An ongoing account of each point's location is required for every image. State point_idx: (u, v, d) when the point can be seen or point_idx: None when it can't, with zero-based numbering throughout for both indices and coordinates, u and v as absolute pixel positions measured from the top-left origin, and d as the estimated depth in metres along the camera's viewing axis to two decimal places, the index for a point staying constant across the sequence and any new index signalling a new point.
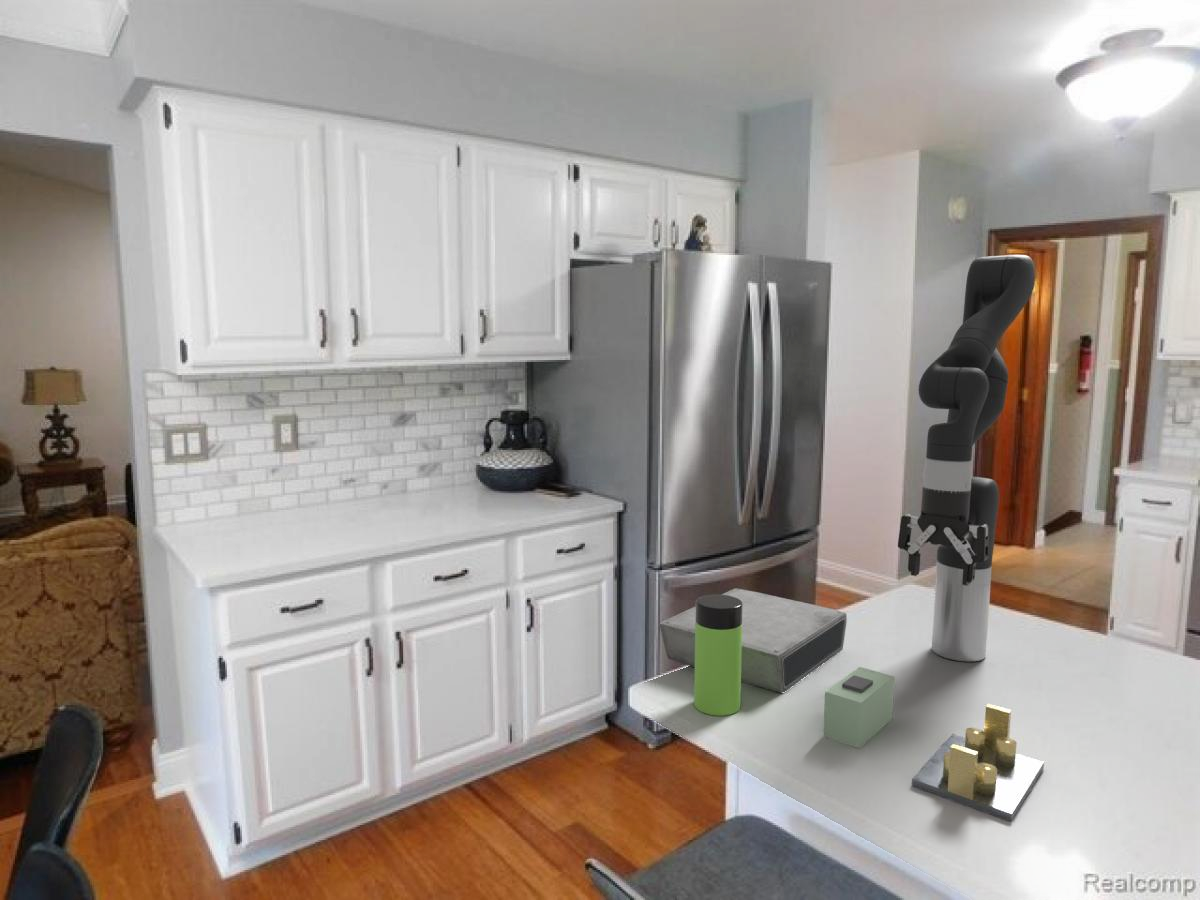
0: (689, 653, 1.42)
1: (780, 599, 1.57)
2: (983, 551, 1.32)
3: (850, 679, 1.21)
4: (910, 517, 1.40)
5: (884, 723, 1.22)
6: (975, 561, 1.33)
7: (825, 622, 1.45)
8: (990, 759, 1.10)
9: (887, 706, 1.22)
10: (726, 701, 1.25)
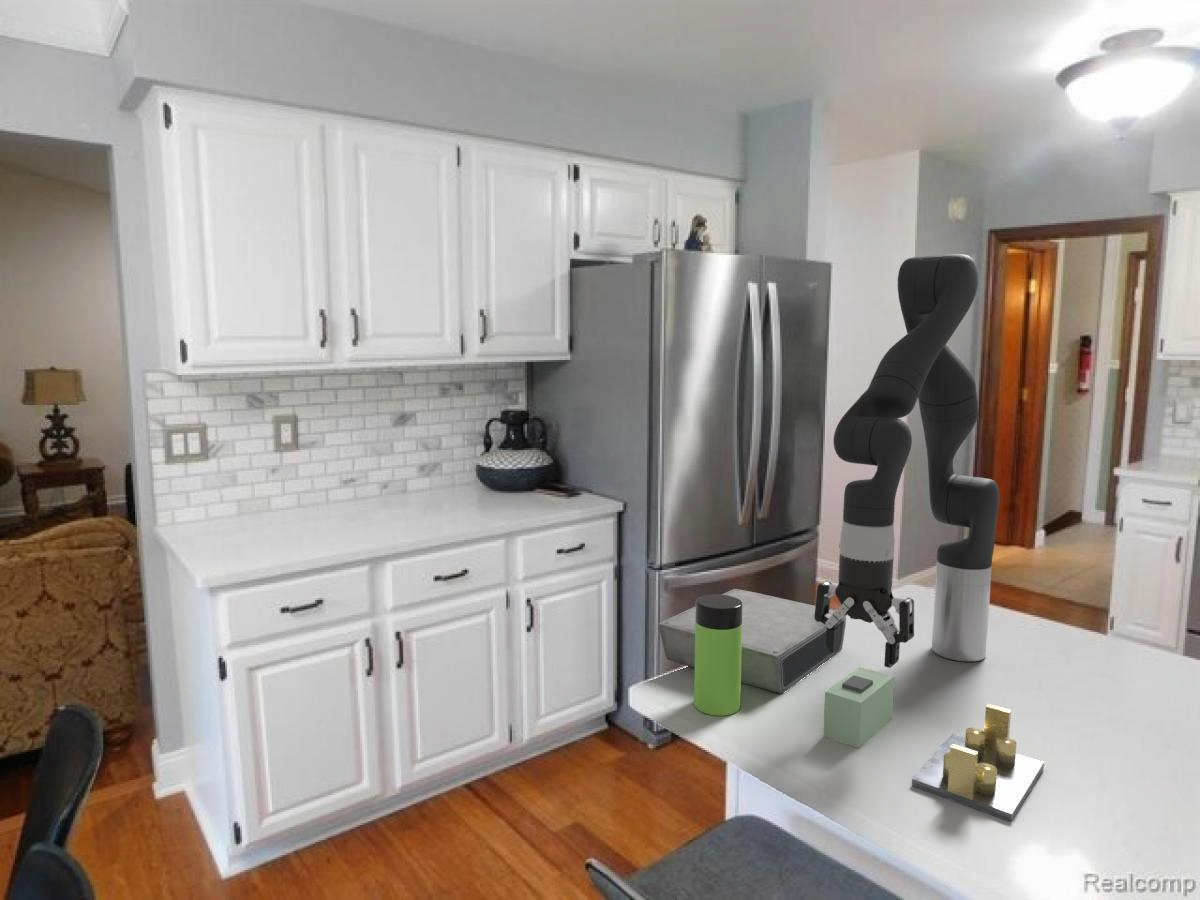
0: (688, 653, 1.42)
1: (779, 600, 1.57)
2: (906, 630, 1.14)
3: (850, 679, 1.21)
4: (828, 586, 1.22)
5: (884, 723, 1.22)
6: (898, 641, 1.15)
7: None
8: (990, 759, 1.10)
9: (887, 706, 1.22)
10: (726, 701, 1.25)
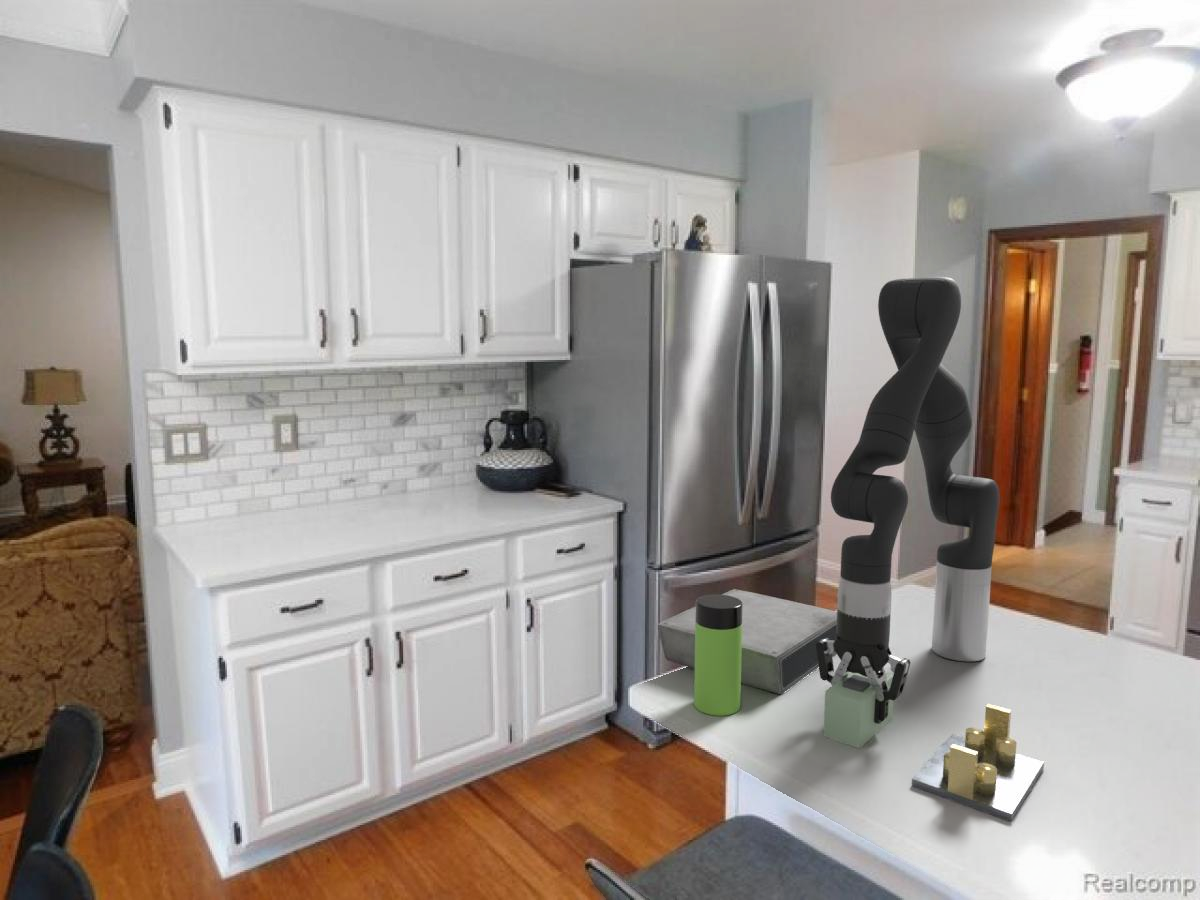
0: (687, 654, 1.42)
1: (778, 600, 1.57)
2: (897, 690, 1.16)
3: (850, 678, 1.21)
4: (825, 642, 1.23)
5: (884, 722, 1.22)
6: (887, 698, 1.17)
7: (823, 623, 1.44)
8: (990, 759, 1.10)
9: None
10: (726, 701, 1.25)
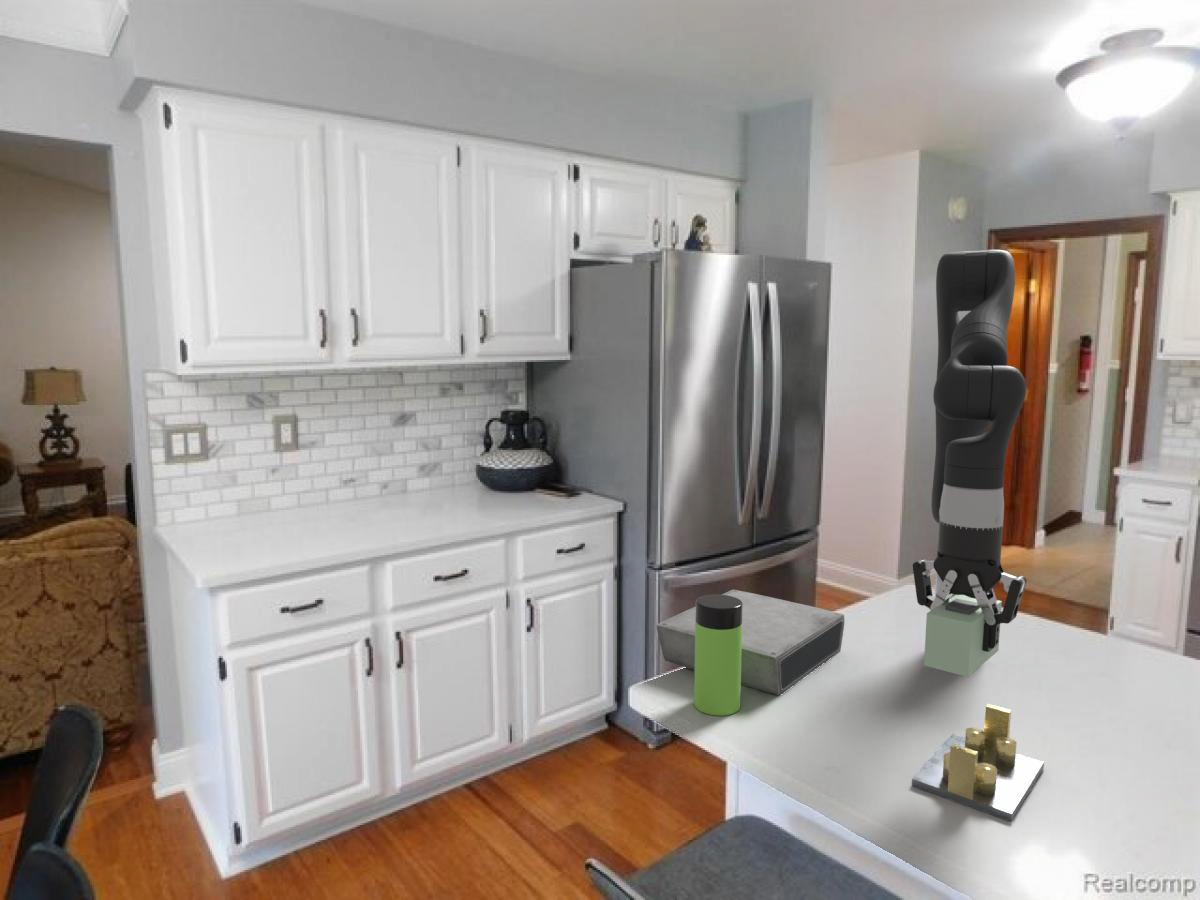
0: (686, 655, 1.42)
1: (778, 600, 1.57)
2: (1012, 611, 1.01)
3: (953, 602, 1.06)
4: (924, 563, 1.09)
5: (991, 653, 1.07)
6: (999, 621, 1.03)
7: (822, 624, 1.44)
8: (990, 759, 1.10)
9: None
10: (726, 701, 1.25)
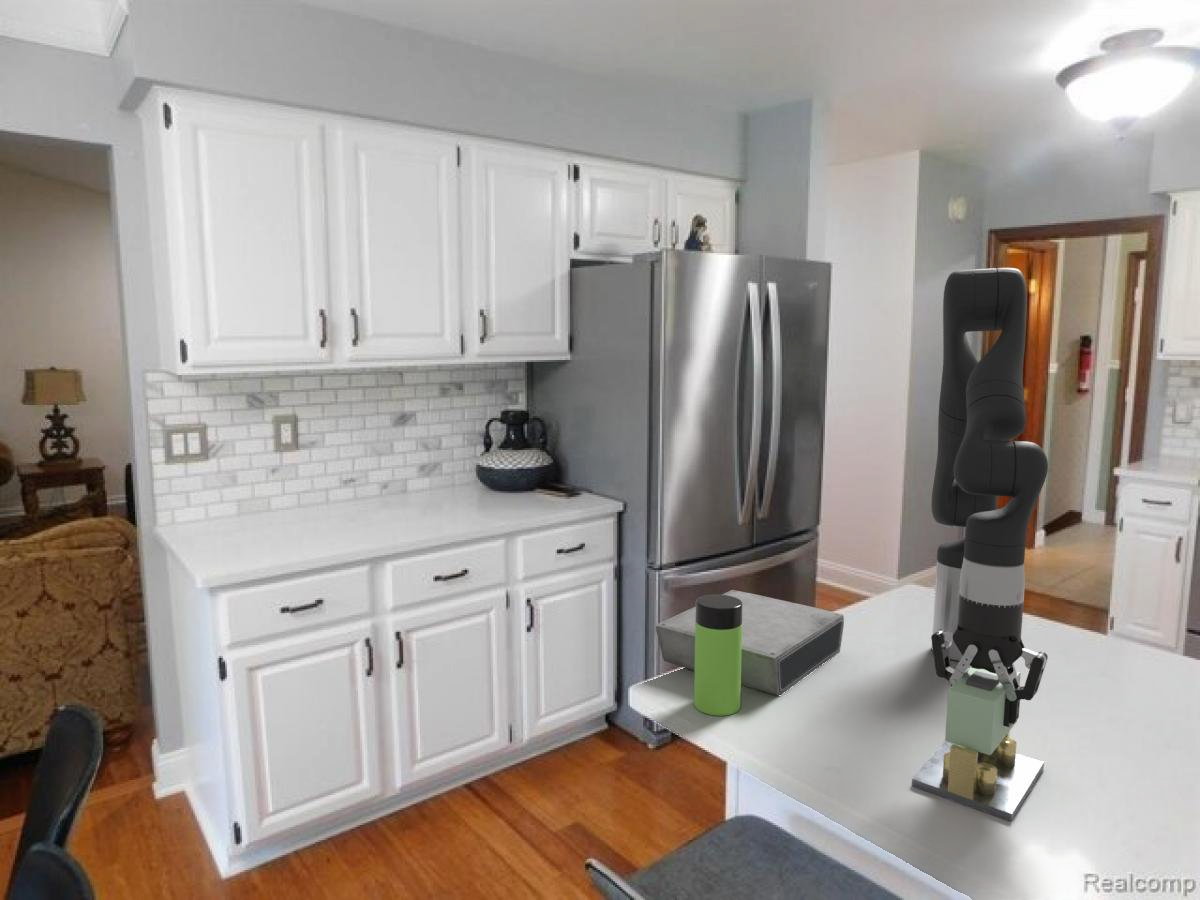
0: (685, 655, 1.41)
1: (777, 601, 1.56)
2: (1033, 688, 1.01)
3: (973, 675, 1.06)
4: (942, 634, 1.08)
5: (1011, 725, 1.07)
6: (1020, 697, 1.02)
7: (822, 624, 1.44)
8: (990, 759, 1.10)
9: None
10: (726, 701, 1.25)
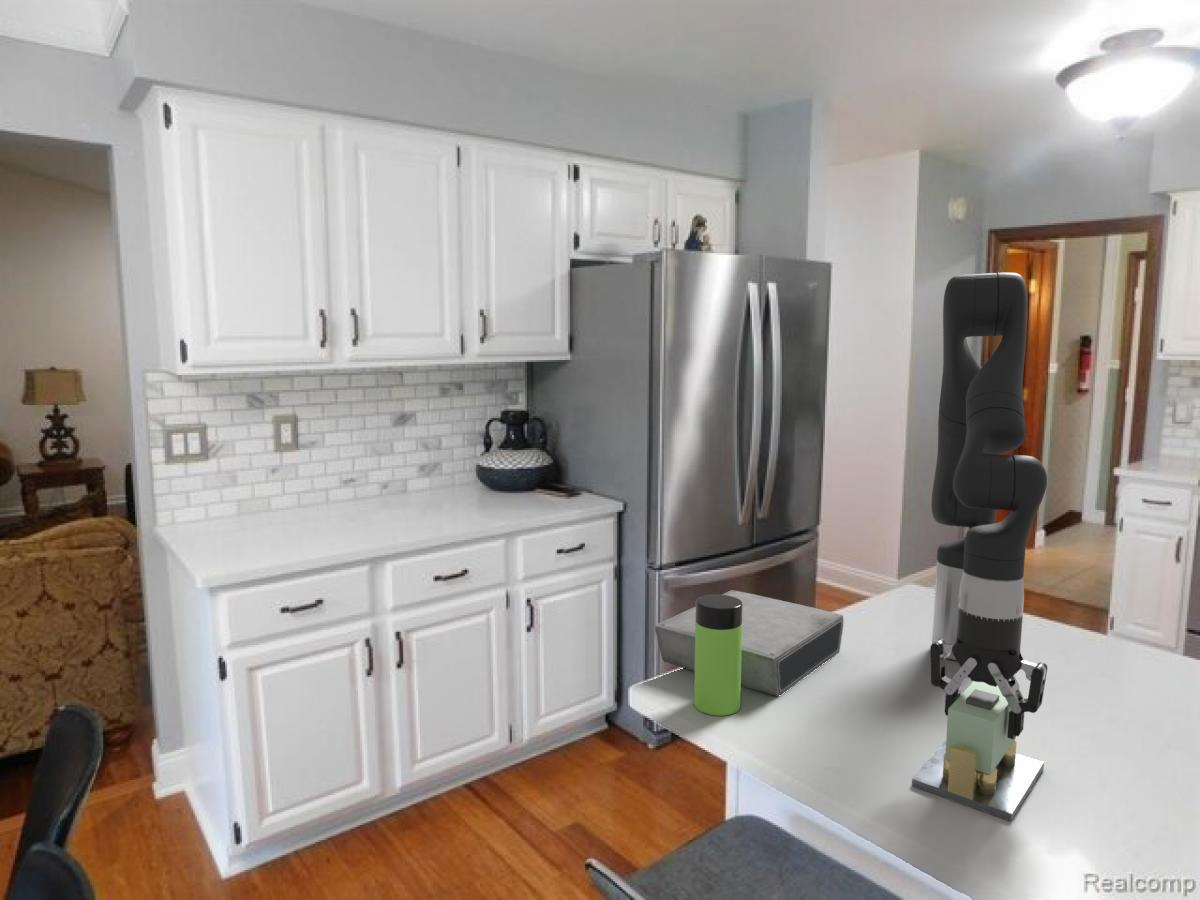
0: (684, 656, 1.41)
1: (776, 601, 1.56)
2: (1037, 700, 1.01)
3: (973, 694, 1.06)
4: (942, 645, 1.08)
5: (1010, 743, 1.07)
6: (1024, 710, 1.02)
7: (821, 625, 1.44)
8: None
9: None
10: (726, 701, 1.25)
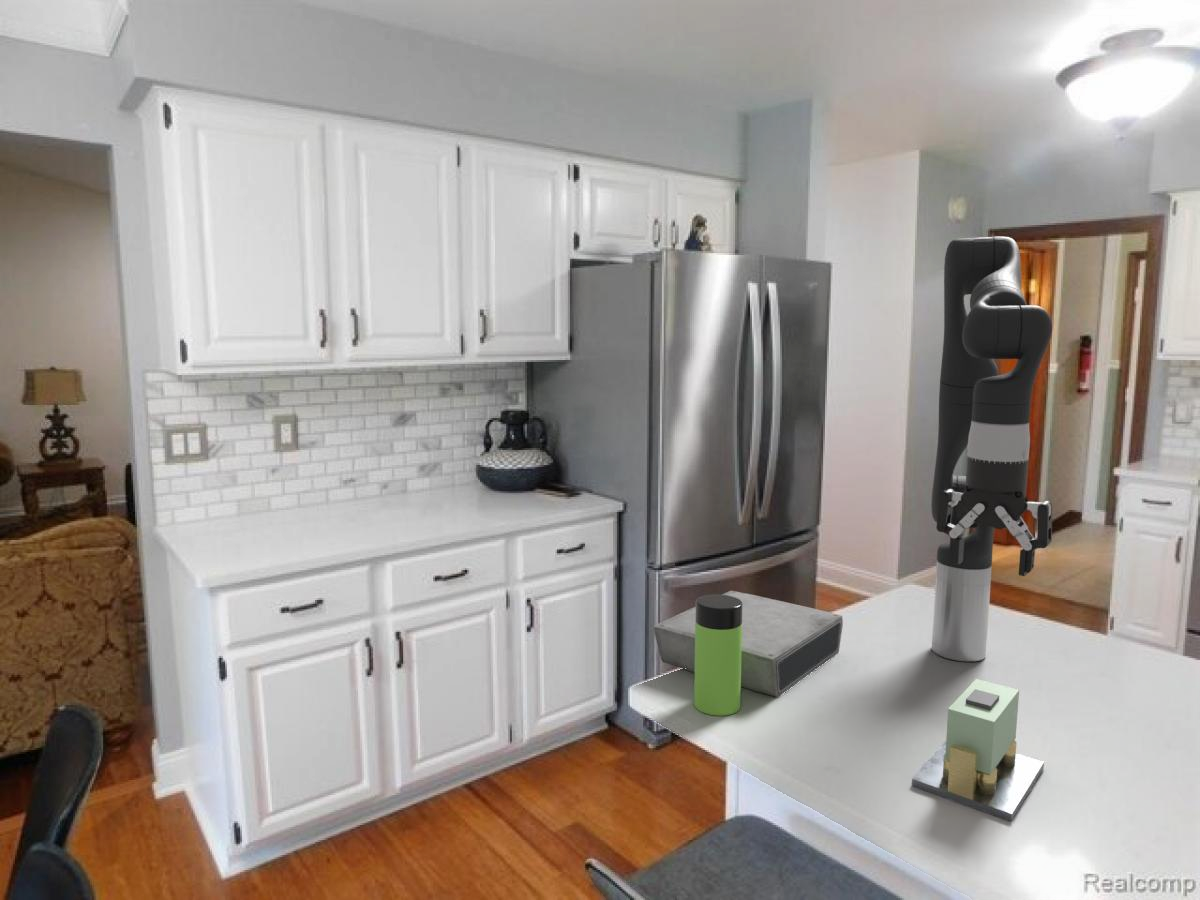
0: (683, 656, 1.41)
1: (776, 602, 1.56)
2: (1046, 535, 1.06)
3: (973, 694, 1.06)
4: (951, 493, 1.14)
5: (1010, 743, 1.07)
6: (1035, 547, 1.07)
7: (820, 625, 1.43)
8: None
9: (1013, 724, 1.08)
10: (726, 701, 1.25)
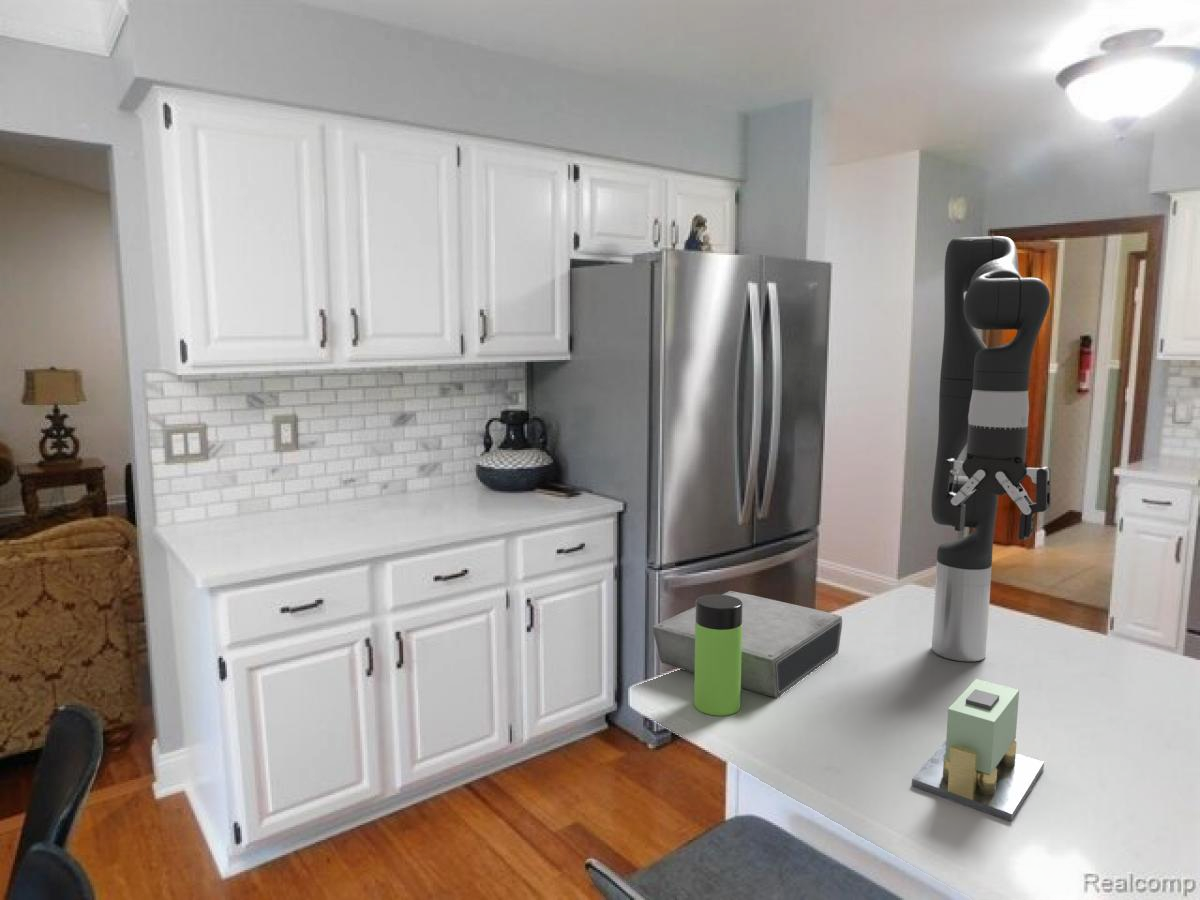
0: (682, 657, 1.41)
1: (775, 602, 1.56)
2: (1044, 498, 1.09)
3: (973, 694, 1.06)
4: (953, 462, 1.18)
5: (1010, 743, 1.07)
6: (1034, 511, 1.11)
7: (820, 626, 1.43)
8: None
9: (1013, 724, 1.08)
10: (726, 701, 1.25)
